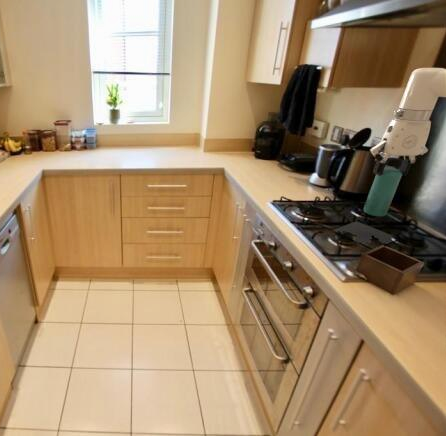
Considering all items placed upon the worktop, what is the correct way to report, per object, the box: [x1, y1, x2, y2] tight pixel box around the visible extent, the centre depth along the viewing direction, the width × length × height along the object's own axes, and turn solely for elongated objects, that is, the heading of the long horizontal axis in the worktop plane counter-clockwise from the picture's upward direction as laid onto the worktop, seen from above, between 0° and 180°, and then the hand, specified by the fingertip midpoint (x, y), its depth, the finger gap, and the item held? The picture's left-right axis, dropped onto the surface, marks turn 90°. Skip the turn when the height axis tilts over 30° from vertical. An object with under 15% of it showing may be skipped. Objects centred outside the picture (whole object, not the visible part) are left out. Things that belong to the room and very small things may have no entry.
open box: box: [355, 245, 425, 296], centre depth 87 cm, size 10×10×7 cm
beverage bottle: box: [363, 156, 404, 217], centre depth 101 cm, size 6×7×20 cm
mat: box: [332, 220, 393, 244], centre depth 109 cm, size 14×14×1 cm
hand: (389, 173), depth 99 cm, fingers closed on beverage bottle, 6 cm apart
